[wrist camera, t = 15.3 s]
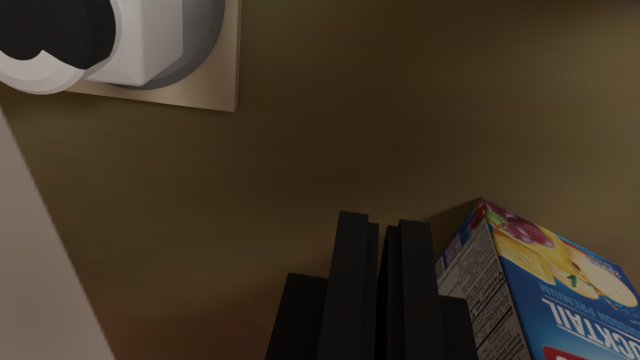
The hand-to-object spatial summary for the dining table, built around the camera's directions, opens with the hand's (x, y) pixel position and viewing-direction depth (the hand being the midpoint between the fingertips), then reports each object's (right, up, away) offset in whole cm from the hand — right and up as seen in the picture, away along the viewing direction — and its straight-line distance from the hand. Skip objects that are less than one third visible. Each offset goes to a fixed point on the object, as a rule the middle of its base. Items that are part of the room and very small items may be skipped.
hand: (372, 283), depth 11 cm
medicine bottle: (-13, +14, +25) cm, 31 cm away
